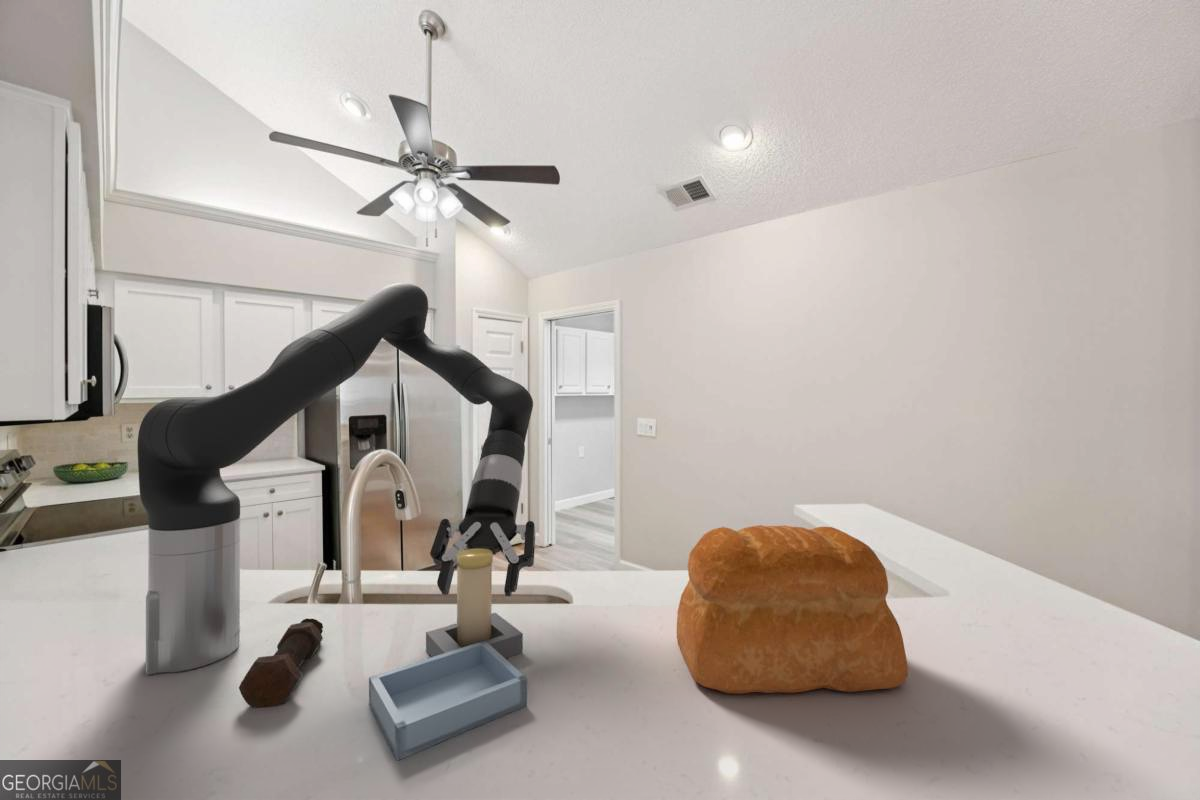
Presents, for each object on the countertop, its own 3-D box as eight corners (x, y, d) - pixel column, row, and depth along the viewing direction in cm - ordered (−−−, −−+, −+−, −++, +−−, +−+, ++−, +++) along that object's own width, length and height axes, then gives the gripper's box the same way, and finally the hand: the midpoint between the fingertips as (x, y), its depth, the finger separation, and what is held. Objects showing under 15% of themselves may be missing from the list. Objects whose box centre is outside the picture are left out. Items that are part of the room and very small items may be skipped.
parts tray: (397, 760, 46) (397, 728, 46) (369, 704, 54) (369, 676, 54) (526, 705, 54) (526, 678, 54) (484, 664, 63) (484, 640, 63)
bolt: (316, 654, 69) (274, 720, 54) (281, 640, 68) (228, 702, 53) (340, 615, 69) (305, 669, 55) (305, 600, 68) (260, 651, 54)
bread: (923, 697, 57) (925, 546, 57) (696, 703, 55) (698, 548, 55) (847, 632, 72) (849, 514, 72) (669, 635, 71) (670, 515, 71)
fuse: (464, 664, 63) (465, 561, 63) (450, 650, 66) (451, 552, 66) (497, 653, 65) (498, 554, 65) (482, 639, 69) (483, 546, 69)
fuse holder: (448, 678, 60) (448, 657, 60) (425, 651, 66) (426, 632, 66) (522, 652, 66) (522, 633, 66) (495, 629, 72) (495, 612, 72)
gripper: (542, 505, 81) (530, 606, 69) (455, 502, 81) (428, 603, 69) (539, 478, 75) (526, 583, 64) (445, 475, 75) (415, 579, 64)
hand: (475, 593), depth 67 cm, fingers open, 8 cm apart
